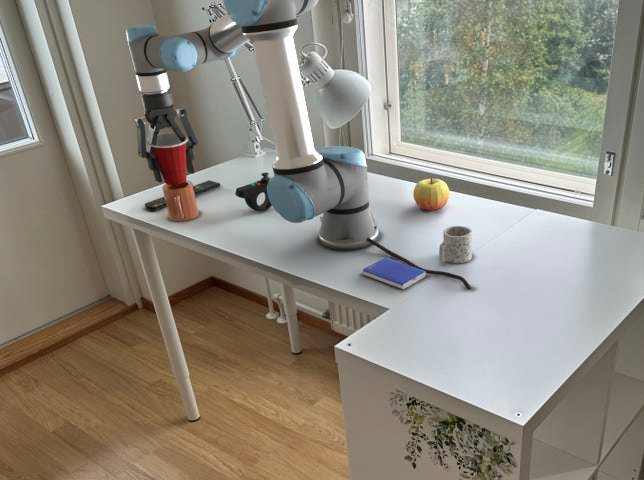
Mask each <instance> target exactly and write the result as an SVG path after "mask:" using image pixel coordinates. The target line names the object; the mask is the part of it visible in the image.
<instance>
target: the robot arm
mask: <svg viewBox="0 0 644 480" xmlns="http://www.w3.org/2000/svg"><path fill="white" fill-rule="evenodd" d="M318 2H319V0H222V3H223V6H224V10H225V12H226V14H225V15H222V17H220V18H219V19H217V20H216V21H215V22H213V23H212V24H210V25H209V26H208V27H206V28H204V29H199V30H196V31H190V32H185V33H180V34H174V35H167V36H165V35H160V33H159V31H158V28H157V26H156V25H154V24H152V23H142V24H141V23H140V24H133V25H130V26H128V27H127V28H126V30H125V34H126V39H127V46H128V49H129V54H130V57H131V61H132V65H133V69H134V73H135V77H136V81H137V86H138V89H139V91H140V92H141V94H140V97H141V102H142V106H143V109H144V114H143V116H140V117H134V124H135V126H136V138H137V139H136V140H137V141H136V142H137V155H138V156H139V157H140V158H142V159H146V161H147V165H148V169H149V170H150V171H152V172H153V176H154V181H155V182H158V183H163V177H162V175H161V172H160V170H159V166H158V161H157V158H155V157H154V149H153V148H152V147H151V146H149V145H147V144H146V139H147V138H148V143H149V144H151V145H156V141H157V136H158V134H160V130H163V129H169V128H170V129H171V130H172V131H173V133H175V134H176V135H177V137H178V138H179V139H180V141H181V142H184V141H185V140H186V139H185V138H186V136H187V138H188V141H187V142H186V172H188V173H189V174H192V175H193V174H195V168H194V164H193V161H194V160H195V155H194V148H195V146H197V145H198V144H199V141H198V139H197V136H196V134H195V132H194V130H193V127H192V124H191V122H190V120H189V117H188V110H187V109H186V108H183V107H179V108H176V107H175V104H174V100H173V95H172V91H171V90H170V88H171V85H170V80H169V77H168V72H167V71H171V72H176V73H180V72H181V73H182V72H184V73H185V72H190V70H192V69H193V68H194V67H195V66H200V65H204V64H207V63H211V62H215V61H223V60H226V59H228V58H231V57H233V56H235V55H236V53H237V50H238V49H239V48H240V47H242V46H243V45H245V44H247V43H248V42H251V45H252V48H253V53H254V58H255V62H256V66H257V71H258V76H259V80H260V84H261V89H262V95H263V99H264V104H265V108H266V112H267V118H268V121H269V125H270V131H271V135H272V140H273V145H274V150H275V153H276V157H275V158H274V161H273V162H272V164H271V167H272V171H273V176H272V177H270V178H271V179H270V180H269V182H268V185H267V194H268V198H269V200H270V203H271V205H272V206H271V207H272V208H273V209H274V210H275V212H276V213H277V214H278V215H279V216H280V217H281V218H283V219H284V220H285V221H288V222H290V223H292V224H301V223H303V222H306V221H309V220H313V219H315V218H316V217H317V216H319V219H320V228H319V232H318V236H319V242H320V243H321V245H322V246H324V247H327V248H329V249H333V250H341V251H346V250H349V251H350V250H357V249H362V248H365V247H368V246H371V245H373V246H375V247H377V248H378V249H380V250H381V251H382V252H384V253H386V254H388V255H390V256H391V257H393V258H395V259H396V260H399V261H401V262H403V263H404V264H406V265H409V266H411V267H414V268H417V269H420V270H423V271H426V275H435V276H444V277H448V278H452V279H455V280H459V281H460V282H461V283H462V284H463V285H464V286H465V288H466V290H472V287H471V285H470V284H469V283H468V281H467V280H466V278H464V277H463V276H461V275H458V274H455V273H451V272H448V271H441V270H432V269H426V268H423V267H420V266H419V265H416V264H415V263H414V262H413V261H411V260H409V259H407V258H405V257H403V256H401V255H399V254H397V253H395V252H394V251H391V250H390V249H389V248H386V247H385V246H383V245H382V244H380V243H379V242H377V241H378V240H379V237H380V233H379V230H380V229H379V226H378V223H377V222H376V219H375V217H374V214H373V212H372V210H371V207H370V195H369V180H368V165H367V160H366V155H365V153H364V151H363V150H362V149H360V148H357V147H352V146H345V145H331V146H324V147H319V148H318V149H317V150H316V149H315V146H314V141H313V135H312V131H311V124H310V119H309V114H308V110H307V104H306V100H305V93H304V88H303V83H302V78H301V72H300V68H299V62H298V57H297V52H296V47H295V42H294V41H295V40H294V34H295V32H296V31H297V29H298V27H299V23H298V19H297V18H298V17H300V16H302V15H304V14H306V13H308V12H310V11H311V10H312V9H314V8H315V7H316V5H318ZM176 116H177V117H178V118H179V120H180V123H181V124H182V126H183V127H182V128H183V129H184V131H185V133H186V135H185V134H184V132H183V131H182V130H181V128H180V126H179V125H178V123H177V122H176V120H175V119H176ZM146 122H148V123H149V128H148V130H149V133H148V136H147V137H146V134H147V133H146V124H147V123H146ZM320 215H322V216H320Z"/></svg>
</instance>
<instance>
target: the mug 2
mask: <svg viewBox="0 0 644 480" xmlns="http://www.w3.org/2000/svg"><path fill="white" fill-rule="evenodd" d="M442 233H443V241H442V242H441V243H440V245H439V247H438V248H439V249H438V255H439V261H440V262H441V263H444V262H448V263H451V264H464V263H467V262H469V261H470V260H471V259H472V251H473V250H472V245H473V244H472V243H473V242H472V239H473V238H472V237H473V231H472V229H471V228H470V227H467V226H464V225H451V226H448V227H446V228H445V229H444V230H443V232H442Z"/></svg>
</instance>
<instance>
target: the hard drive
mask: <svg viewBox="0 0 644 480" xmlns="http://www.w3.org/2000/svg"><path fill="white" fill-rule="evenodd" d="M362 275H363V276H366V277H369V278H371V279H374V280H377V281H380V282H382V283H386V284H388V285H391V286H393V287H396V288H399V289H401V290H405V289H406V288H409V287H411V286H412V285H414V284H415V283H417V282H419V281H421V280H422V279H424V278H425V277H427V273H426V271H423V270H420V269H417V268H414V267H411V266H410V265H408V264H406V263H404V262H403V263H402V262H400V261H397V260H394V259H392V258H389V257H383V258H381V259H379V260H378V261H376V262H374V263H372V264H370V265H368V266H366V267H364V268H363V269H362Z"/></svg>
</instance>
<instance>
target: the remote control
mask: <svg viewBox="0 0 644 480" xmlns="http://www.w3.org/2000/svg"><path fill="white" fill-rule="evenodd" d="M219 187H221V183H220V182H216V181H213V180H206V181H202V182H200V183H198V184H195V185H193V189H194V193H195V196H197V195H199V194H202V193H205V192H207V191H210V190H213V189H216V188H219ZM144 207H145V209H146V210H147V211H149V212H153V211H156V210H159V209H162V208H164V207H167V206H166V202H165V198H164V196H162V197H159V198H156V199H154V200H151V201H148V202H145V203H144Z"/></svg>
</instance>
